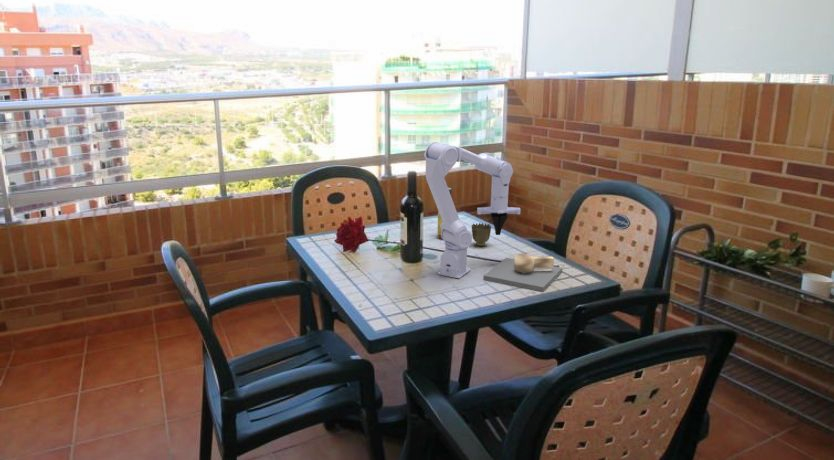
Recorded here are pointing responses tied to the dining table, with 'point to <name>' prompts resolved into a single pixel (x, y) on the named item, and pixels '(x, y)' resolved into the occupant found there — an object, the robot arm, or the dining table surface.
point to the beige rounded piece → (531, 262)
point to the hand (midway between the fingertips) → (497, 234)
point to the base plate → (522, 276)
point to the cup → (481, 233)
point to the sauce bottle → (441, 220)
